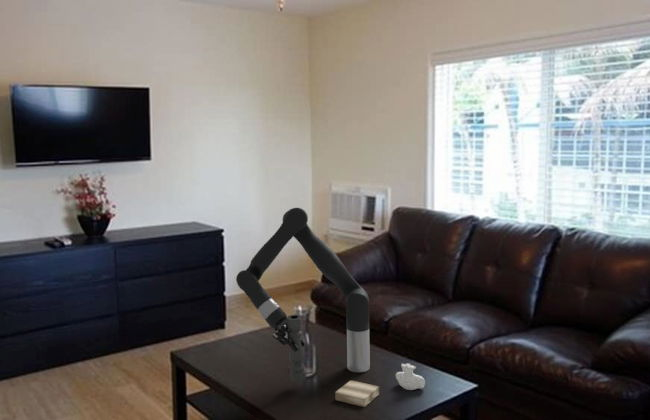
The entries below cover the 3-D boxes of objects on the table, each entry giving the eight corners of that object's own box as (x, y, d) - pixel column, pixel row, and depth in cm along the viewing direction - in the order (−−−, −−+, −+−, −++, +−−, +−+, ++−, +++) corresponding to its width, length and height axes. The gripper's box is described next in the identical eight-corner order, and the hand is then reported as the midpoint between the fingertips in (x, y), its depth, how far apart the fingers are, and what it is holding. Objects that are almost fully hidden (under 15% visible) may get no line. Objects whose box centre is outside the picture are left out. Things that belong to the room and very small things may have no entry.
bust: (395, 390, 230) (387, 375, 223) (401, 373, 235) (393, 357, 228) (424, 397, 224) (416, 381, 217) (430, 379, 228) (423, 363, 221)
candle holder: (292, 383, 224) (287, 321, 220) (288, 376, 230) (284, 315, 225) (308, 380, 226) (304, 318, 221) (304, 373, 232) (300, 313, 227)
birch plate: (350, 387, 228) (350, 380, 228) (379, 394, 222) (379, 386, 222) (335, 399, 218) (335, 392, 218) (364, 407, 212) (364, 399, 212)
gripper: (277, 312, 236) (305, 346, 232) (255, 325, 224) (284, 360, 220) (287, 301, 232) (316, 335, 228) (266, 313, 221) (295, 350, 217)
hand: (300, 347), depth 224 cm, fingers closed on candle holder, 4 cm apart
